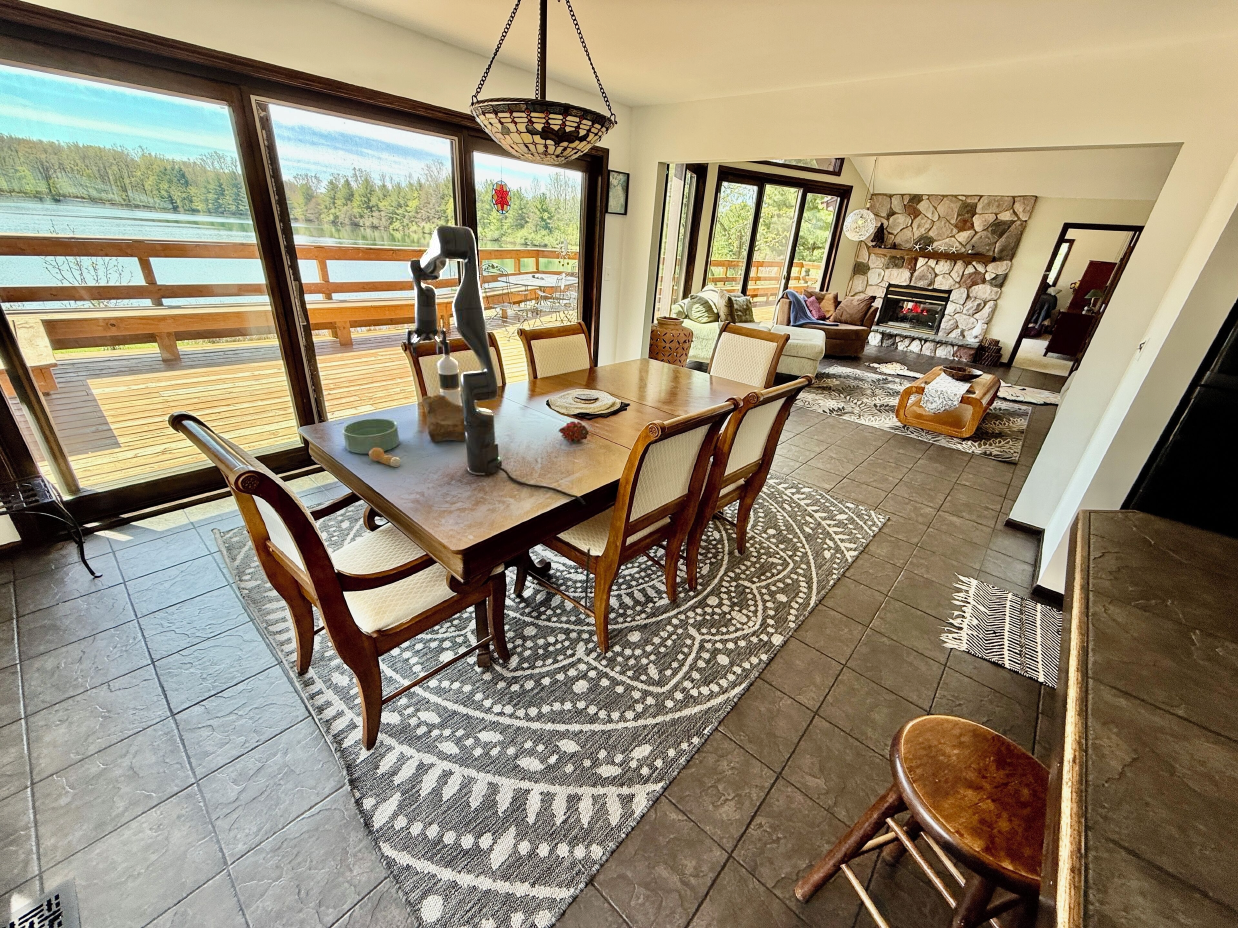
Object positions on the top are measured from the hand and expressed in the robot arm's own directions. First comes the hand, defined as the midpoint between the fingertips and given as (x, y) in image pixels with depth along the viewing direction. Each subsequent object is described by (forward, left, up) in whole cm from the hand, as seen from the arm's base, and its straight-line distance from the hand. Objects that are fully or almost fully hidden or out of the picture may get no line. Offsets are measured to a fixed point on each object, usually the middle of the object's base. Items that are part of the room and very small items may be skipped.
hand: (426, 354), depth 187 cm
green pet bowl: (-1, +31, -27) cm, 41 cm away
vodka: (+2, -12, -27) cm, 30 cm away
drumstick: (-17, +39, -27) cm, 50 cm away
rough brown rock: (-18, +12, -27) cm, 35 cm away
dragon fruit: (-59, -12, -27) cm, 66 cm away
